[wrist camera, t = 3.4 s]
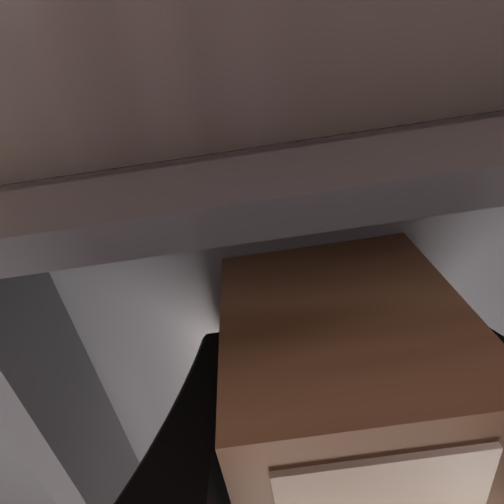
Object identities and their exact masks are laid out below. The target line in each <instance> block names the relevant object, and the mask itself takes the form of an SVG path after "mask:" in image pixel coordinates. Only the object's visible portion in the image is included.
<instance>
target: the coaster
mask: <svg viewBox="0 0 504 504" xmlns="http://www.w3.org/2000/svg"><path fill="white" fill-rule="evenodd" d="M0 504H56V502H55V501H54V499H53V498H52V497H51V495H50V494H49V492H48V491H47V490H46V488H45V487H44V485H43V484H42V483H41V481H40V480H39V478H38V477H37V476H36V474H35V473H34V472H33V470H32V469H31V467H30V466H29V465H28V463H27V462H26V460H25V459H24V458H23V456H22V455H21V453H20V452H19V451H18V449H17V448H16V446H15V445H14V444H13V442H12V441H11V440H10V438H9V437H8V435H7V434H6V433H5V431H4V430H3V428H2V427H1V426H0Z"/></svg>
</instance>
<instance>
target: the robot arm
mask: <svg viewBox="0 0 504 504" xmlns="http://www.w3.org/2000/svg"><path fill="white" fill-rule="evenodd" d="M489 328H490V327H489ZM490 329H491V328H490ZM491 330H492V331H493V332H494V333H495V334H496V335H497V336H498V337H499V339H500V340H501V341H502V342H503V343H504V336H502V335H501V334H499V333H498V332H496V331H494V330H493V329H491ZM218 353H219V332H216V333H209V334H206V335H205V336H204V337H203V339H202V342H201V344H200V347H199V350H198V352H197V355H196V357H195V359H194V362H193V364H192V366H191V369H190V371H189V373H188V375H187V377H186V380H185V382H184V384H183V386H182V388H181V390H180V392H179V394H178V396H177V398H176V400H175V402H174V404H173V406H172V408H171V410H170V412H169V414H168V415H167V417H166V419H165V421H164V423H163V424H162V426H161V428H160V430H159V431H158V433H157V435H156V437H155V438H154V440H153V442H152V444H151V446H150V447H149V449H148V451H147V452H146V454H145V456H144V457H143V459H142V461H141V462H140V464H139V466H138V467H137V469H136V470H135V472H134V473H133V475H132V477H131V478H130V480H129V481H128V483H127V484H126V486H125V487H124V489H123V490H122V492H121V493H120V495H119V496H118V498H117V499H116V501H115V502H114V504H231V501H230V498H229V494H228V491H227V488H226V484H225V481H224V478H223V474H222V471H221V468H220V464H219V461H218V458H217V454H216V451H215V435H216V408H217V380H218Z"/></svg>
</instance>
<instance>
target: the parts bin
mask: <svg viewBox="0 0 504 504" xmlns="http://www.w3.org/2000/svg"><path fill="white" fill-rule="evenodd" d="M399 233H405V234H406V236H407V237H408V238H409V239H410V240H411V241H412V242H413V243H414V244H415V246H416V247H417V248H418V249H419V250H420V251H421V252H422V253H423V254H424V256H425V257H426V258H427V259H428V260H429V261H430V262H431V263H432V264H433V265H434V267H435V268H436V269H437V270H438V271H439V272H440V273H441V274H442V275H443V277H444V278H445V279H446V280H447V281H448V282H449V283H450V284H451V285H452V287H453V288H454V289H455V290H456V291H457V292H458V293H459V294H460V295H461V297H462V298H463V299H464V300H465V301H466V302H467V303H468V304H469V305H470V306H471V308H472V309H473V310H474V311H475V312H476V313H477V314H478V315H479V316H480V318H481V319H482V320H483V321H484V322H485V323H486V324H487V325H488V326H489V327H490V328H491V329H493V330H494V331H496V332H498V333H499V334H501V335H502V336H504V110H503V111H496V112H489V113H483V114H476V115H469V116H463V117H456V118H449V119H443V120H436V121H429V122H423V123H416V124H409V125H403V126H396V127H389V128H383V129H376V130H369V131H363V132H356V133H349V134H343V135H336V136H329V137H323V138H316V139H309V140H303V141H296V142H289V143H283V144H276V145H269V146H263V147H256V148H249V149H243V150H236V151H229V152H223V153H216V154H209V155H203V156H196V157H189V158H183V159H176V160H169V161H163V162H156V163H149V164H143V165H136V166H129V167H123V168H116V169H109V170H103V171H96V172H89V173H83V174H76V175H69V176H63V177H56V178H49V179H43V180H36V181H29V182H23V183H16V184H9V185H3V186H0V426H1V427H2V428H3V430H4V431H5V433H6V434H7V435H8V437H9V438H10V440H11V441H12V442H13V444H14V445H15V446H16V448H17V449H18V451H19V452H20V453H21V455H22V456H23V458H24V459H25V460H26V462H27V463H28V465H29V466H30V467H31V469H32V470H33V472H34V473H35V474H36V476H37V477H38V478H39V480H40V481H41V483H42V484H43V485H44V487H45V488H46V490H47V491H48V492H49V494H50V495H51V497H52V498H53V499H54V501H55V502H56V504H114V502H115V501H116V499H117V498H118V496H119V495H120V493H121V492H122V490H123V489H124V487H125V486H126V484H127V483H128V481H129V480H130V478H131V477H132V475H133V473H134V472H135V470H136V469H137V467H138V466H139V464H140V462H141V461H142V459H143V457H144V456H145V454H146V452H147V451H148V449H149V447H150V446H151V444H152V442H153V440H154V438H155V437H156V435H157V433H158V431H159V430H160V428H161V426H162V424H163V423H164V421H165V419H166V417H167V415H168V414H169V412H170V410H171V408H172V406H173V404H174V402H175V400H176V398H177V396H178V394H179V392H180V390H181V388H182V386H183V384H184V382H185V380H186V377H187V375H188V373H189V371H190V369H191V366H192V364H193V362H194V359H195V357H196V355H197V352H198V350H199V347H200V344H201V342H202V339H203V337H204V336H205V335H206V334H209V333H216V332H219V326H220V298H221V271H222V259H225V258H232V257H239V256H246V255H253V254H260V253H267V252H274V251H281V250H288V249H295V248H302V247H309V246H315V245H322V244H329V243H336V242H343V241H350V240H357V239H364V238H371V237H378V236H385V235H392V234H399Z"/></svg>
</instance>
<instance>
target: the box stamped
mask: <svg viewBox="0 0 504 504" xmlns="http://www.w3.org/2000/svg"><path fill="white" fill-rule="evenodd" d="M215 451H216V454H217V458H218V461H219V464H220V468H221V471H222V474H223V478H224V481H225V484H226V488H227V491H228V494H229V498H230V501H231V504H504V343H503V342H502V341H501V340H500V339H499V337H498V336H497V335H496V334H495V333H494V332H493V331H492V330H491V329H490V328H489V326H488V325H487V324H486V323H485V322H484V321H483V320H482V319H481V318H480V316H479V315H478V314H477V313H476V312H475V311H474V310H473V309H472V308H471V306H470V305H469V304H468V303H467V302H466V301H465V300H464V299H463V298H462V297H461V295H460V294H459V293H458V292H457V291H456V290H455V289H454V288H453V287H452V285H451V284H450V283H449V282H448V281H447V280H446V279H445V278H444V277H443V275H442V274H441V273H440V272H439V271H438V270H437V269H436V268H435V267H434V265H433V264H432V263H431V262H430V261H429V260H428V259H427V258H426V257H425V256H424V254H423V253H422V252H421V251H420V250H419V249H418V248H417V247H416V246H415V244H414V243H413V242H412V241H411V240H410V239H409V238H408V237H407V236H406V234H405V233H399V234H392V235H385V236H378V237H371V238H364V239H357V240H350V241H343V242H336V243H329V244H322V245H315V246H309V247H302V248H295V249H288V250H281V251H274V252H267V253H260V254H253V255H246V256H239V257H232V258H225V259H222V271H221V298H220V326H219V353H218V380H217V408H216V435H215Z"/></svg>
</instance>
